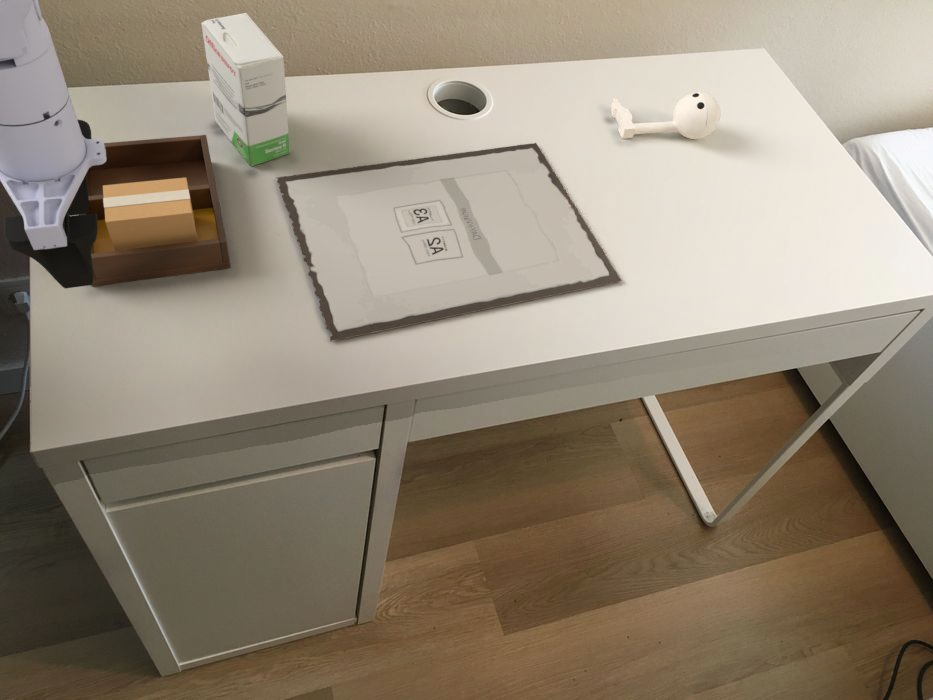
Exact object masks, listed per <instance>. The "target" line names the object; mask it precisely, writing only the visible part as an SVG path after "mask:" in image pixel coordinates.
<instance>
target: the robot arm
mask: <svg viewBox="0 0 933 700" xmlns="http://www.w3.org/2000/svg"><path fill="white" fill-rule="evenodd" d="M91 129H92V128H91V126H90V124H89V123H88V122H87V121H85V120H83V119H78V118H77V114H76V111H75V107H74V105H73V102H72V99H71V95H70V93H69V88H68V85H67V82H66V79H65V76H64V72H63V70H62V67H61V64H60V60H59V56H58V53H57V50H56V47H55V45H54V41H53V38H52V35H51V32H50V29H49V27H48V24H47V22H46V21H45V19H44V18H43V17H42V10H41V6H40V3H39V0H0V182H1V184H2V187H4V189H5V191H6V193H7V195H8V196H9V198H10V199H11V201H12V202H13V204H14V205H15V207H16V209H17V210H18V212H19V213H20V215H18V216H17V215H16V216H8V217H7V216H6V217H4V221H3V223H4V225H3V226H4V228H3V229H4V230H3V233H4V234H3V235H4V238H5V240H6V242H7V243H8V246H9V247H10V248H11V249H12V250H13V251H16V252H18V253H21V254H23V255H25V256H27V257H29V258H31V259H33V260H34V261H35V262H37V263H38V264H39V265H41V266H42V267H43V269H45V270H46V272H48V273H49V274H50V275H51V277H52V278H53V279H54V280H55V281H56V282H57V283H58V284H59V285H60V286H61V287H62V288H64V289H73V288H80V287H88V286H91V285H92V284H93V263H92V256H91V249H92V246H93V244H94V242H95V240H96V237H97V231H98V224H97V213H95V214H88V213H89V197H88V187H87V178H86V173H87V171H88V169H89V168H90V167H91V166H94V165H101V164H104V163H105V162H106V160H107V159H106V149H105V145H104V143H105V142H104V141H103V140H102V139H100V138H92V130H91ZM80 214H86V215H80Z"/></svg>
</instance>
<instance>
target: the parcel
mask: <svg viewBox="0 0 933 700" xmlns="http://www.w3.org/2000/svg"><path fill="white" fill-rule="evenodd" d="M103 196H104V198H103V203H104V209H105V222H106V225H107V228H108V231H109V234H110V238H111V241H112V244H113V247H114V250H115V251H118V250H126V249H135V248H143V247H151V246H160V245H168V244H176V243H185V242H193V241H198V238H197V232H196V226H195V219H194V214H193V209H192V204H191V199H190V193H189V188H188V183H187V178H175V179H165V180H154V181H144V182H134V183H123V184H113V185H103Z"/></svg>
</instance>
